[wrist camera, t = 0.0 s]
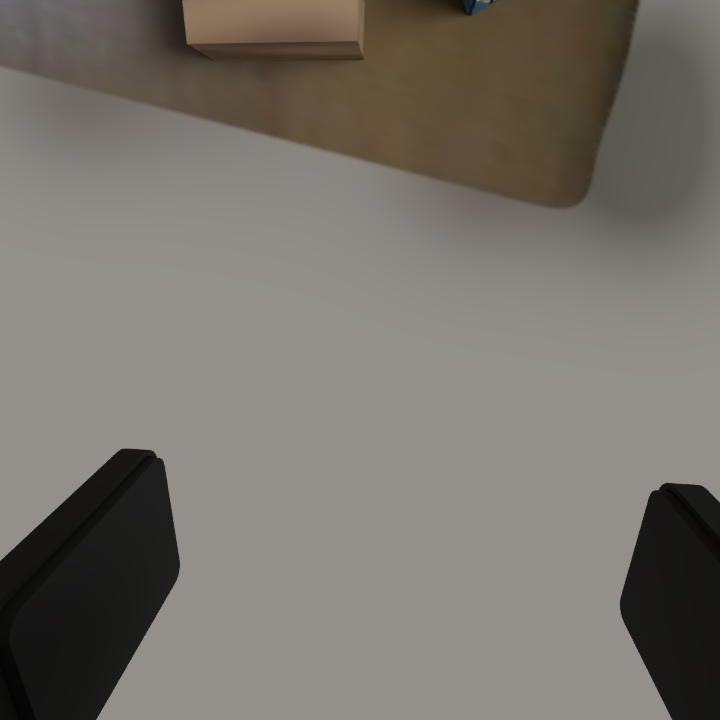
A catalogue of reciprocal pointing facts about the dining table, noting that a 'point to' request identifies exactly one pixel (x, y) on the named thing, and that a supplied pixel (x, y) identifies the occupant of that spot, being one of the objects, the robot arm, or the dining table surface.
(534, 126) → the dining table surface
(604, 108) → the dining table surface
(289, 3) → the brown wooden flat block
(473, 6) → the puzzle
